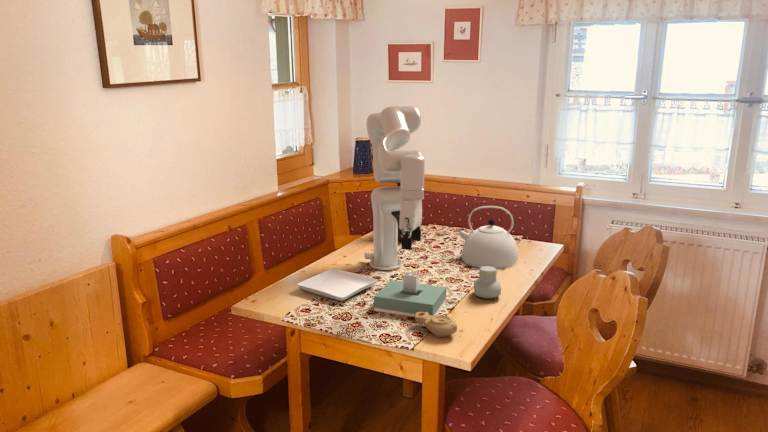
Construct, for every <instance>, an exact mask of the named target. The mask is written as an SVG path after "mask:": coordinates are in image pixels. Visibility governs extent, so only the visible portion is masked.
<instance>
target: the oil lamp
mask: <svg viewBox="0 0 768 432" xmlns="http://www.w3.org/2000/svg"><path fill="white" fill-rule="evenodd" d="M414 319H415V321H416V323H418V324H420V325H422V326H423V325H424V327H425V328H426V329H427V330H428V331H430V332H431V333H432V334H433V335H434V336H435V337H439V338H446V337H449V336H450V335H452V334H455V333H456V332H457V331H458V325H457V323H456V321H455V320H454V319H453V318H451V317H450V316H447V315H443V314H442V315H439V314H438V315H436V316H431V315H429V314H428V312H417V313H416V314H415V317H414Z"/></svg>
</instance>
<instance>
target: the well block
mask: <svg viewBox="0 0 768 432" xmlns="http://www.w3.org/2000/svg"><path fill="white" fill-rule="evenodd" d="M446 301H447V287H445V286H437V285H431V284H430V285H429V284H424V283H423V284H422V283H419V295H418V296H415V295H408V294H403V280H402V281H400V280H394V279H390V280H389V281H388V282H387V283H386V284H385V285H384V286H383V287H381V289H380V290H379V291H378V292H377V293H376V294H375V295H374V296H373V310H374V311H376V312H381V313H386V314H394V315H401V316H407V317H414V318H415V314H416V313H417V312H428V314H429V315H431V316H437V314H438V313H439V312H440V311H441V309H442V307H443V306H444V305H445V303H446ZM438 311H439V312H438Z"/></svg>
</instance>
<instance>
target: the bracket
mask: <svg viewBox="0 0 768 432" xmlns="http://www.w3.org/2000/svg"><path fill="white" fill-rule="evenodd" d="M402 279H403V280H402V282H403V294H408V295H415V296H418V295H419V284H420V273H416V272H415V273H414V272H405V273H404V274H403V278H402Z"/></svg>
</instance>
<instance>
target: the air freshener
mask: <svg viewBox="0 0 768 432" xmlns="http://www.w3.org/2000/svg"><path fill="white" fill-rule="evenodd" d="M497 269H498V268H497ZM497 269H496V268H494V267H491V266H483V267H479V271H478V278H476V279H475V280H474V282H473V291H474V295H475V296H477V297H478V298H481V299H494V298H497V297H499V296H500V295H501V294H502V288H501V287H502V286H501V283H500V280H498V279H497V274H498V273H497Z"/></svg>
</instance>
